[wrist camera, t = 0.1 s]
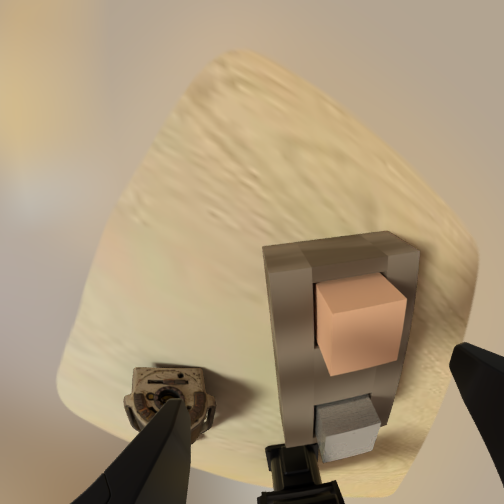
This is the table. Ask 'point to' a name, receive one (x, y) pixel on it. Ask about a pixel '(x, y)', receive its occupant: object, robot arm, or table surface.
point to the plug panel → (302, 323)
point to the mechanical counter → (169, 396)
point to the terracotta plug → (358, 322)
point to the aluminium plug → (346, 427)
